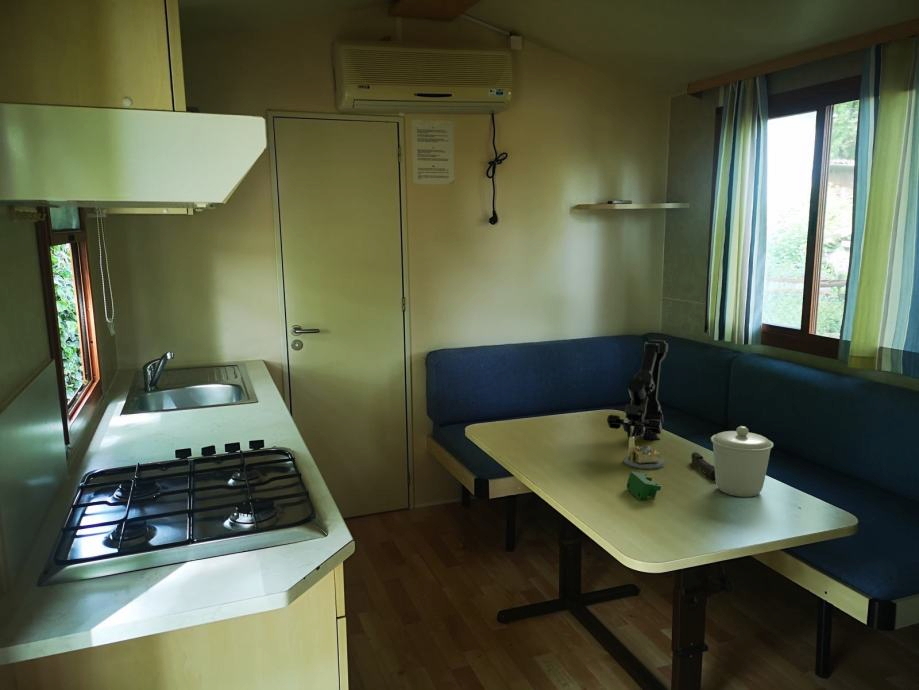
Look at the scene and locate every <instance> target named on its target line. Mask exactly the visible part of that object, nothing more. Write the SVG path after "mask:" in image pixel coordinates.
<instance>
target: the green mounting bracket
mask: <svg viewBox="0 0 919 690" xmlns="http://www.w3.org/2000/svg"><path fill="white" fill-rule="evenodd" d="M652 480H653V477H651V476H650V475H649V474H646V473H641V472H636V471H632V470H630V473H629V475H628V478H627V482H626V489H627V490H628V491H629V492H630V493H631V494H632V495H633V496H634V497H635V498H636V499H638V500H641V501H647V499H648V498H653V497H655V498H656V496H657V493H658V491H659V492H660V491H661V489H662V484H660V483H658V482H654V481H652Z"/></svg>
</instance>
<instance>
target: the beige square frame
mask: <svg viewBox="0 0 919 690" xmlns="http://www.w3.org/2000/svg"><path fill="white" fill-rule="evenodd" d="M635 441H636V440H635V436H629V443H628V452H627V454H628V455H627V456H628V460H629V461H634V460H635V461H636V462H637V463H652V462H660V458H661V453H660V452H659V451H658V450H657V449H655V448H652V447H651V445H648V444H647V445H645V447H649V448H650V453H644V450H640V451H639V448H640V447H639V446H638V445H637V446H636V444H635Z"/></svg>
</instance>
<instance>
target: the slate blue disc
mask: <svg viewBox="0 0 919 690" xmlns="http://www.w3.org/2000/svg"><path fill="white" fill-rule="evenodd" d="M638 448H639V451H640V450H644V453H650V448H649V447H646V446H639V447H638ZM623 464H624V465H626V466H627V467H631V468H633V469H637V468H638V469H637V470H644V469H654V470H660V469H663V468H664V467H665V466H666V465H665V464H666V461H665V460H664V459H663V458H661V457H660V462H652V463H637V462H636V461H635V460H634V461H629V460H628V455H626V456H625V457H624V458H623Z"/></svg>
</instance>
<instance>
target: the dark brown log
mask: <svg viewBox="0 0 919 690" xmlns="http://www.w3.org/2000/svg"><path fill="white" fill-rule="evenodd" d="M690 459H691V464H692V465H693V466H694V468H696V469H699V470H700V471H702V472H703V473H704V474H706V476H708V477H709V479H710V480H711V481H712V482H713V481H715V482H716V479H715V468H714V464H710V463H709V462H708V461H706V460H705V459H704V457H703V455H702V454H700V453H698V452H696V451H694V452H692V453H691V457H690Z"/></svg>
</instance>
